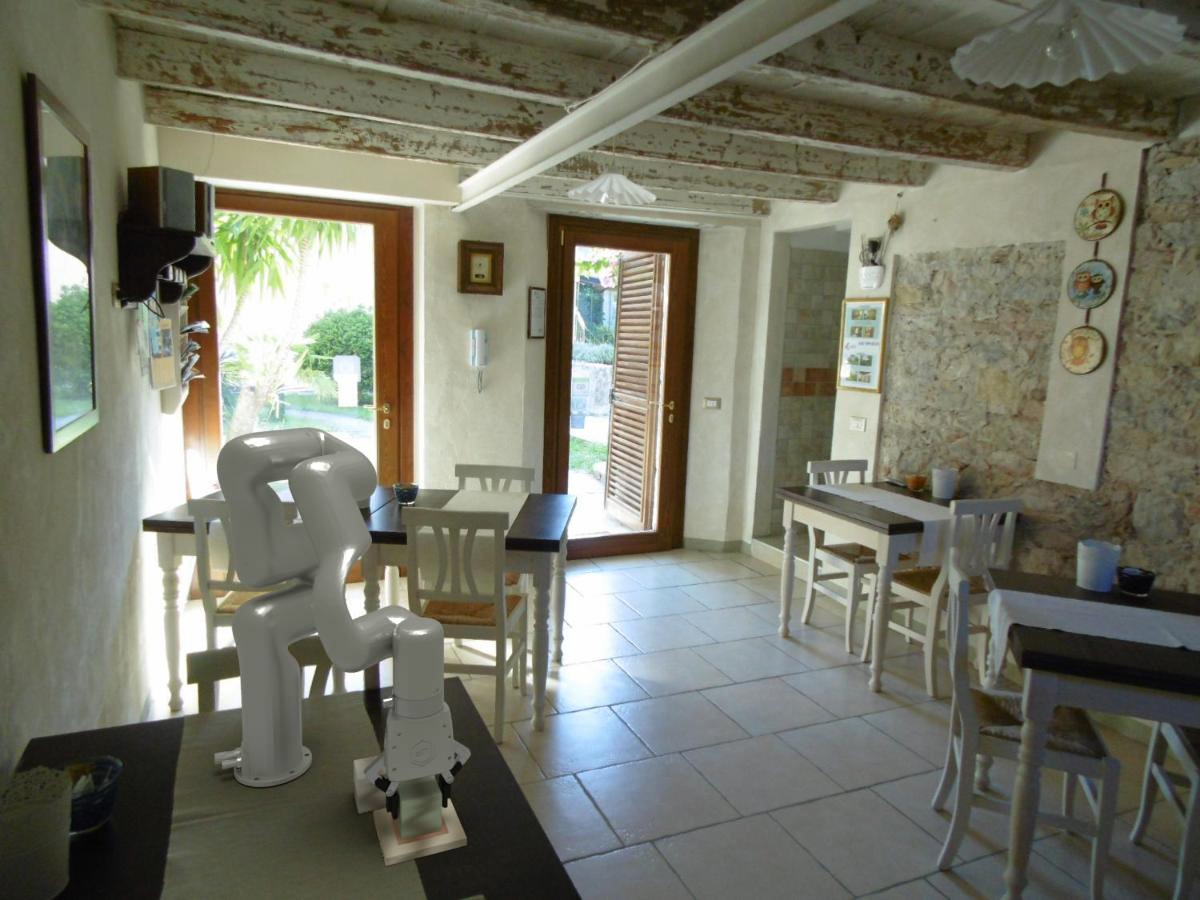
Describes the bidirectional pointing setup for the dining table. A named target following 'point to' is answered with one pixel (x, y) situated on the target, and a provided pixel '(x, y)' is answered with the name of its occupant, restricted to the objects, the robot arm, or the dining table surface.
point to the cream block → (367, 787)
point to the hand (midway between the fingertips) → (418, 807)
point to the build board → (420, 845)
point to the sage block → (419, 807)
